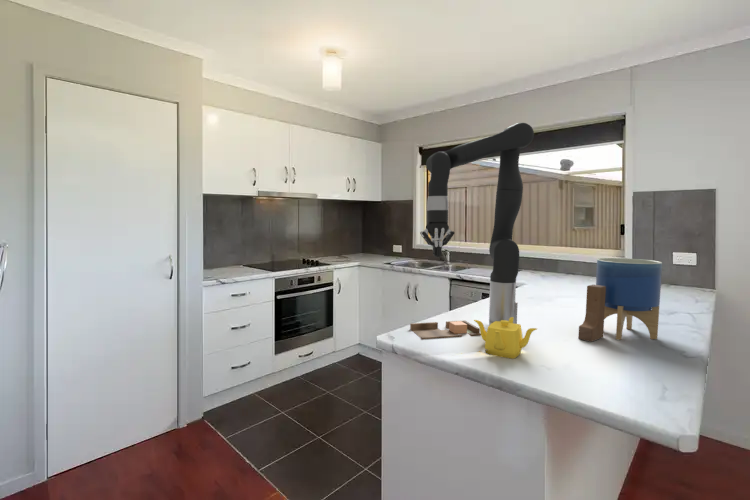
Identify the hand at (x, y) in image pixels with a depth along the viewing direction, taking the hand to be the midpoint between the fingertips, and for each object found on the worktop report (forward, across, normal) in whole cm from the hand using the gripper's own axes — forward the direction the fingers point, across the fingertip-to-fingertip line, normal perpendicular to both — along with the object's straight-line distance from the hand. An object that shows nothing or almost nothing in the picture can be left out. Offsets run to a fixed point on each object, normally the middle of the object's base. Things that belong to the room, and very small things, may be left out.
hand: (437, 257), depth 141 cm
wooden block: (+27, -48, +22) cm, 59 cm away
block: (+25, -4, +10) cm, 27 cm away
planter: (+28, -64, +20) cm, 72 cm away
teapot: (+27, -10, +27) cm, 40 cm away
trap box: (+27, +1, +9) cm, 28 cm away
